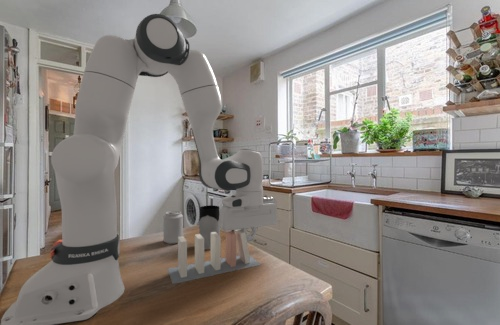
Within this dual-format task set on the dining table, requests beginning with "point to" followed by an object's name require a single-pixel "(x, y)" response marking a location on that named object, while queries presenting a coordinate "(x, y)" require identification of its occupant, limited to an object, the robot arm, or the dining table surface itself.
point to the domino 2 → (199, 253)
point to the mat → (209, 269)
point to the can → (173, 226)
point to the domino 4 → (231, 248)
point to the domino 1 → (182, 256)
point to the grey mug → (208, 223)
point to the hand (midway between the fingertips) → (249, 240)
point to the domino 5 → (242, 246)
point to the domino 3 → (215, 251)
